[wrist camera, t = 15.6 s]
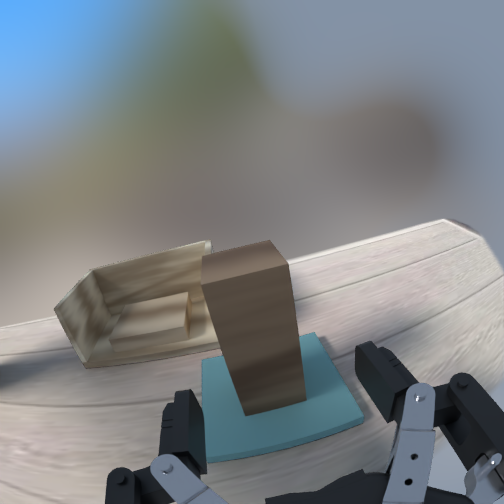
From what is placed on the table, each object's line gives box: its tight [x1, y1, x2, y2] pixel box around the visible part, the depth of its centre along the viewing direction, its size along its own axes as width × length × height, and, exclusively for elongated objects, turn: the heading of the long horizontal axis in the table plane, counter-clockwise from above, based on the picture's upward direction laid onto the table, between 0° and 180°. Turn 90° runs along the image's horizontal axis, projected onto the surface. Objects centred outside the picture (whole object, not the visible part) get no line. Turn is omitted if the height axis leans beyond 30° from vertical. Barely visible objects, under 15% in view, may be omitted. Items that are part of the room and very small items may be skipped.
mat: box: [202, 332, 364, 463], centre depth 22 cm, size 12×12×1 cm
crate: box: [54, 239, 220, 368], centre depth 34 cm, size 13×20×9 cm, turn 99°
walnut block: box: [201, 240, 307, 416], centre depth 20 cm, size 5×5×12 cm
